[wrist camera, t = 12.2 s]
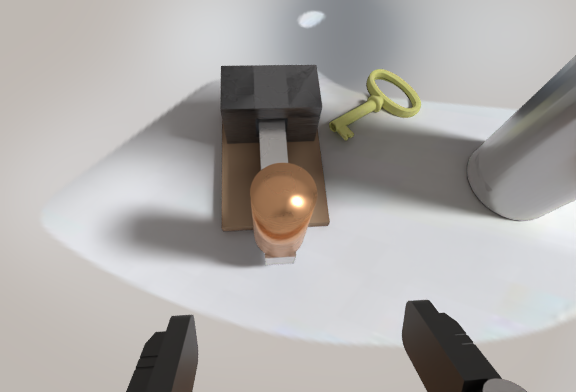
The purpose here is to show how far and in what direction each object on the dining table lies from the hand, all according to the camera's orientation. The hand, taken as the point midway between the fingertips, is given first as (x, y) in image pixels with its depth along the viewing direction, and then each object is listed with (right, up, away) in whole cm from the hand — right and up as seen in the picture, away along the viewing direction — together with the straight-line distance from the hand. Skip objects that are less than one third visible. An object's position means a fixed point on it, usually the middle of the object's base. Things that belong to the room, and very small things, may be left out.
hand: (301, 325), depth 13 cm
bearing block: (-2, +13, +23) cm, 27 cm away
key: (+9, +15, +27) cm, 32 cm away
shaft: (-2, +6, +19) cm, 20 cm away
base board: (-2, +8, +22) cm, 24 cm away
